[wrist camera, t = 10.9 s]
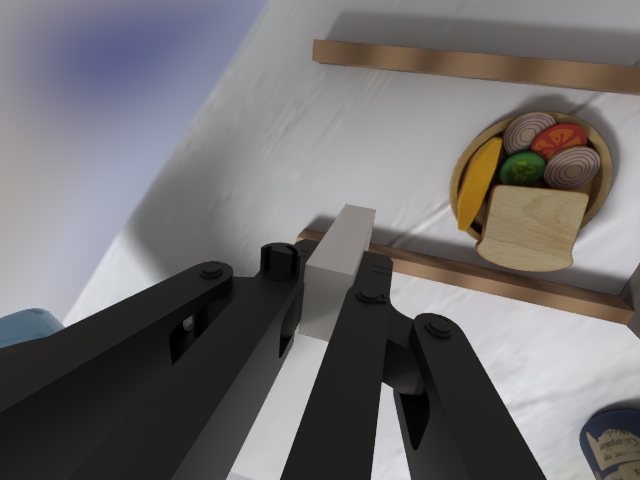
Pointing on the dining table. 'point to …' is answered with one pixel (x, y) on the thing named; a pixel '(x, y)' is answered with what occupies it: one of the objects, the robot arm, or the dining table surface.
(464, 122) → the dining table surface
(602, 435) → the canister
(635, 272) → the open-ended frame
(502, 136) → the toy sandwich meal
